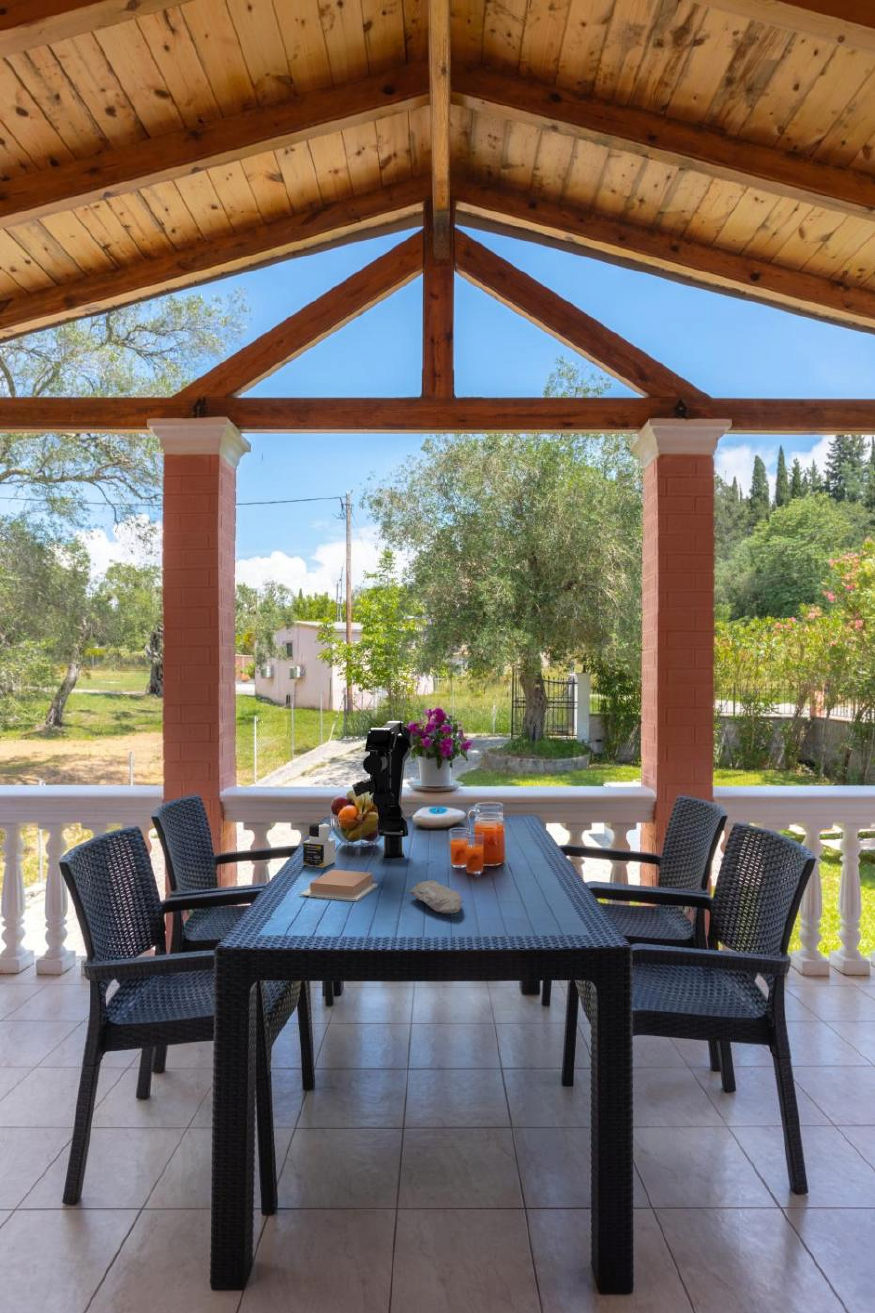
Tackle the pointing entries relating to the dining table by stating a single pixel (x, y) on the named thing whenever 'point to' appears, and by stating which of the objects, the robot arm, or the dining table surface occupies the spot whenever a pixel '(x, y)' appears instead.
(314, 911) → the dining table surface
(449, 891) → the stone tool
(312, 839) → the medicine bottle
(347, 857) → the dining table surface
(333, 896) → the cream square plate
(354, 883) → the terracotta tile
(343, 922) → the dining table surface
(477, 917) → the dining table surface
